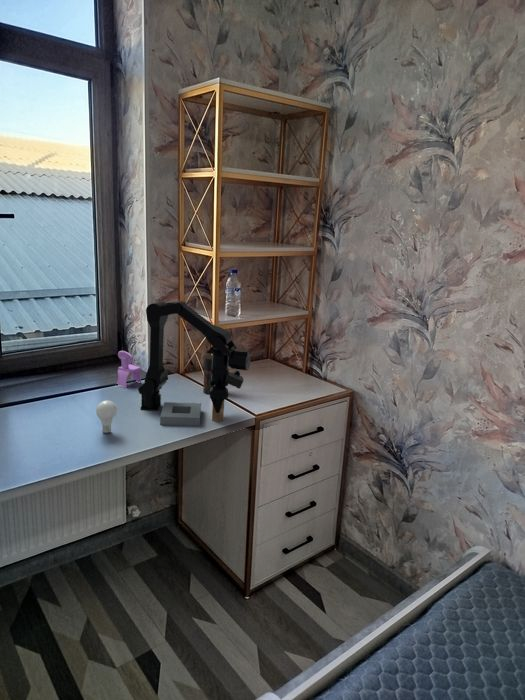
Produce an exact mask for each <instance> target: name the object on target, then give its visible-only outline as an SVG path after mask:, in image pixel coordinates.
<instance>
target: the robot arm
mask: <svg viewBox="0 0 525 700" xmlns="http://www.w3.org/2000/svg"><path fill="white" fill-rule="evenodd" d="M145 309H146V310H145V315H146V320H147V323H148V325H149V327H150V328H149V329H150V333H149V365H148V369H147V371H146V373H145V377H144V383H143V384H141V385H140V386H139V387H138V389H137V390H138V393H139V394H140V395H141V400H140V401H141V403H140V404H141V406H140V410H143V411H144V410H146V411H158V410H159V409H160V407H161V405H162V394H161V391H160V390H161V389H162V388H163V386H164V385H165V384H167V381H168V380H169V377H168V374H169V369H167V368H165V367H164V363H163V362H164V337H165V336H164V335H165V334H164V333H165V325H166V323H167V321H168V318H169V316H170V315H176V314H177V316H179V317H180V318H182V319H183V320H185V321H186V322H187V323H188V324H190V325H191V326H192V327H194V328H195V329H196V330H197V331H199V332H200V333H201V334H202V335H203V336H204V337H205V340H206V341H207V342H208V343H209V344H210V348H209V349H208V350H206V351H205V352H206V354H208V355H209V354H211V355H212V372H211V381H210V382H211V388H210V395H209V398H210V400H211V403H212V407H213V406H214V408H215V411H216V413H220V409H221V406H222V402H223V400H224V401H225V400H227V399H228V398H229V388H227V387H228V386H229V385H230V386H231V387H236V389H241V387H242V385H243V382H244V377H243V375H241V372H240V371H239V370H241V371H247V372H248V371H249V369H250V365H251V356H250V351H249V350H242V349H241V350H240V349H237V346H236V343H234V341H233V339H232V334H231V332H229V331H228V330H226V329H224V328H223V327H221V326H218V325H215V324H213V323H211V322H210V321H209V320H207V319H206V318H205V317H204V316H202V315H201V314H199V313H198V312H197V311H195V310H194V309H193V308H192V307H190V306H189V305H187V303H186V301H183V300H178V301H172V302H165V301H163V300H159V301H156V302H153V303H150V304H149V305H148V306H146V308H145ZM229 368H230V369H233V370H235V371H233V372H231V371H230V369H229Z"/></svg>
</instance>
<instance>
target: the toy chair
mask: <svg viewBox="0 0 525 700" xmlns="http://www.w3.org/2000/svg"><path fill="white" fill-rule="evenodd" d="M117 356H118V358H119V360H120V362H121V366H118V367H117V368H118V369H117V377H118V378H117V382H116V383H115V385H116V384H118V385H121V386H123V387H127V381H128V377H129V375H130V374H131V373H132V375H131V377H130V380H131V379H132V380H136V381H138V382H140V383H141V384H142V380H141V378H142V377H141V375H142V367H140V366H136V365H134V364H132V363H133V362H134V357H133V355H132V354H131V353H129V352H127V351H125V350H120V351H118V353H117ZM127 388H128V387H127Z"/></svg>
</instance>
